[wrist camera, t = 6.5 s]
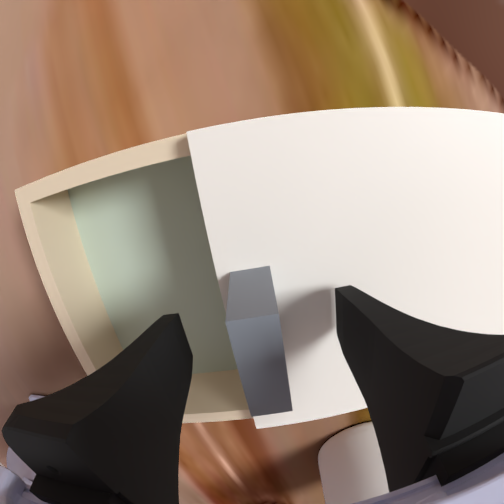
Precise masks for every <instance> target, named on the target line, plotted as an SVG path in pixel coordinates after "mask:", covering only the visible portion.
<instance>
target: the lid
mask: <svg viewBox="0 0 504 504" xmlns="http://www.w3.org/2000/svg"><path fill="white" fill-rule="evenodd" d="M187 138H188V143H189V148H190V153H191V158H192V164H193V169H194V174H195V179H196V184H197V188H198V193H199V198H200V203H201V208H202V212H203V217H204V222H205V226H206V231H207V235H208V240H209V244H210V249H211V253H212V258H213V262H214V266H215V271H216V275H217V279H218V283H219V288H220V292H221V296H222V300H223V304H224V308H225V312H226V319H225V323H226V327H227V331H228V334H229V338H230V342H231V346H232V350H233V353H234V357H235V361H236V365H237V368H238V372H239V376H240V379H241V383H242V386H243V390H244V393H245V397H246V401H247V404H248V407H249V411H250V414H251V417H253V418H254V421H255V425H256V428H257V429H258V428H267V427H274V426H281V425H288V424H294V423H300V422H305V421H311V420H316V419H321V418H326V417H331V416H335V415H340V414H344V413H348V412H352V411H356V410H360V409H364V408H368V407H367V405H366V402H365V400H364V398H363V395H362V393H361V391H360V389H359V387H358V385H357V383H356V381H355V378H354V376H353V374H352V372H351V370H350V368H349V366H348V364H347V362H346V360H345V357H344V355H343V352H342V349H341V346H340V343H339V340H338V337H337V331H336V304H335V288H338V287H343V286H348V285H352V286H354V287H356V288H358V289H359V290H361V291H363V292H365V293H367V294H368V295H370V296H372V297H374V298H375V299H377V300H379V301H381V302H383V303H385V304H387V305H388V306H390V307H392V308H394V309H397V310H399V311H401V312H403V313H405V314H408V315H410V316H412V317H415V318H417V319H420V320H423V321H426V322H429V323H432V324H435V325H439V326H443V327H447V328H451V329H455V330H460V331H466V332H473V333H481V334H496V335H504V114H503V113H496V112H487V111H477V110H466V109H452V108H431V107H371V108H350V109H334V110H322V111H311V112H302V113H293V114H284V115H277V116H270V117H263V118H256V119H250V120H244V121H238V122H232V123H227V124H221V125H216V126H211V127H206V128H202V129H197V130H192V131H188V132H187Z"/></svg>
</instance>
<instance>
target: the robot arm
mask: <svg viewBox="0 0 504 504" xmlns="http://www.w3.org/2000/svg"><path fill="white" fill-rule="evenodd" d="M335 304H336V331H337V337H338V340H339V343H340V346H341V349H342V352H343V355H344V357H345V360H346V362H347V364H348V366H349V368H350V370H351V372H352V374H353V376H354V378H355V381H356V383H357V385H358V387H359V389H360V391H361V393H362V395H363V398H364V400H365V402H366V405H367V407H368V410H369V413H370V417H371V420H372V423H373V426H374V430H375V433H376V437H377V440H378V444H379V448H380V452H381V456H382V460H383V464H384V469H385V473H386V478H387V483H388V489H389V493H386V494H383V495H380V496H377V497H373V498H370V499H366V500H363V501H359V502H355V503H351V504H504V335H496V334H481V333H473V332H466V331H460V330H455V329H451V328H447V327H443V326H439V325H435V324H432V323H429V322H426V321H423V320H420V319H417V318H415V317H412V316H410V315H408V314H405V313H403V312H401V311H399V310H397V309H394V308H392V307H390V306H388V305H387V304H385V303H383V302H381V301H379V300H377V299H375V298H374V297H372V296H370V295H368V294H367V293H365V292H363V291H361V290H359V289H358V288H356V287H354V286H352V285H348V286H343V287H338V288H335ZM192 368H193V354H192V351H191V348H190V345H189V342H188V339H187V336H186V334H185V331H184V328H183V325H182V322H181V318H180V315H179V313H174V314H166V315H163V316H161V317H160V318H159V319H158V320H156V321H155V322H154V323H153V324H152V325H151V326H150V327H149V328H148V329H146V330H145V331H144V332H143V333H142V334H141V335H140V336H139V337H138V338H137V339H136V340H134V341H133V342H132V343H131V344H130V345H129V346H128V347H126V348H125V349H124V350H123V351H122V352H120V353H119V354H118V355H117V356H116V357H114V358H113V359H112V360H111V361H109V362H108V363H106V364H105V365H104V366H102V367H101V368H99V369H98V370H96V371H95V372H93V373H92V374H90V375H88V376H87V377H85V378H83V379H81V380H79V381H78V382H76V383H74V384H72V385H70V386H68V387H66V388H64V389H62V390H60V391H58V392H55V393H53V394H50V395H48V396H39V395H30V396H29V400H30V402H27V403H23V404H20V405H17V406H16V408H15V409H14V411H13V412H12V414H11V415H10V417H9V418H8V420H7V422H6V423H5V425H4V427H3V429H2V433H3V437H4V439H5V441H6V443H7V444H8V446H9V447H8V451H7V468H6V467H4V466H1V465H0V504H179V496H178V465H179V445H180V433H181V426H182V421H183V416H184V412H185V407H186V402H187V398H188V393H189V388H190V384H191V379H192Z"/></svg>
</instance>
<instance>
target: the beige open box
mask: <svg viewBox="0 0 504 504" xmlns="http://www.w3.org/2000/svg"><path fill="white" fill-rule="evenodd" d="M15 195H16V199H17V203H18V207H19V211H20V215H21V218H22V222H23V226H24V229H25V232H26V236H27V239H28V242H29V245H30V248H31V251H32V254H33V257H34V260H35V263H36V266H37V269H38V271H39V274H40V277H41V279H42V282H43V285H44V287H45V290H46V292H47V294H48V297H49V299H50V302H51V304H52V306H53V309H54V311H55V313H56V315H57V318H58V320H59V322H60V324H61V326H62V328H63V330H64V332H65V334H66V337H67V339H68V341H69V343H70V344H71V346H72V348H73V350H74V352H75V354H76V356H77V358H78V360H79V362H80V363H81V365H82V367H83V369H84V371H85V372H86V374H87V376H88V375H90V374H92V373H93V372H95V371H96V370H98V369H99V368H101V367H102V366H104V365H105V364H106V363H108V362H109V361H111V360H112V359H113V358H114V357H116V356H117V355H118V354H119V353H120V352H122V351H123V350H124V349H125V348H126V347H128V346H129V345H130V344H131V343H132V342H133V341H134V340H136V339H137V338H138V337H139V336H140V335H141V334H142V333H143V332H144V331H145V330H146V329H148V328H149V327H150V326H151V325H152V324H153V323H154V322H155V321H156V320H158V319H159V318H160V317H161V316H163V315H166V314H174V313H179V315H180V318H181V322H182V325H183V328H184V331H185V334H186V336H187V339H188V342H189V345H190V348H191V351H192V354H193V368H192V379H191V384H190V388H189V393H188V398H187V402H186V407H185V412H184V416H183V421H182V423H197V422H214V421H227V420H238V419H248V418H253V417H251V414H250V411H249V407H248V404H247V401H246V397H245V393H244V390H243V386H242V383H241V379H240V376H239V372H238V368H237V365H236V361H235V357H234V353H233V350H232V346H231V342H230V338H229V334H228V331H227V327H226V323H225V319H226V312H225V308H224V304H223V300H222V296H221V292H220V288H219V283H218V279H217V275H216V271H215V266H214V262H213V258H212V253H211V249H210V244H209V240H208V235H207V231H206V226H205V222H204V217H203V212H202V208H201V203H200V198H199V193H198V188H197V184H196V179H195V174H194V169H193V164H192V158H191V153H190V148H189V143H188V138H187V133H186V134H182V135H178V136H174V137H170V138H165V139H162V140H158V141H154V142H150V143H146V144H143V145H139V146H135V147H132V148H129V149H125V150H122V151H118V152H115V153H112V154H109V155H106V156H102V157H99V158H96V159H93V160H90V161H87V162H85V163H82V164H79V165H76V166H73V167H70V168H68V169H65V170H62V171H60V172H57V173H54V174H52V175H49V176H47V177H44V178H42V179H39V180H37V181H35V182H32V183H30V184H27V185H25V186H23V187H21V188H18V189H16V190H15Z"/></svg>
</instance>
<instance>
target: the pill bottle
mask: <svg viewBox="0 0 504 504" xmlns="http://www.w3.org/2000/svg"><path fill="white" fill-rule="evenodd" d="M318 465H319V471H320V476H321V482H322V487H323V493H324V499H325V504H351V503H355V502H359V501H363V500H366V499H370V498H373V497H377V496H380V495H383V494H386V493H389V489H388V483H387V478H386V473H385V469H384V464H383V460H382V456H381V452H380V448H379V444H378V440H377V437H376V433H375V430H374V426H373V423H372V422H366V423H362V424H359V425H356V426H353V427H350V428H348V429H346V430H343V431H341V432H340V433H338V434H336V435H334V436H333V437H331V438H330V439H329V440H328V441H326V442H325V443H324V445H323V446H322V447H321V449H320V451H319V454H318Z"/></svg>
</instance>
